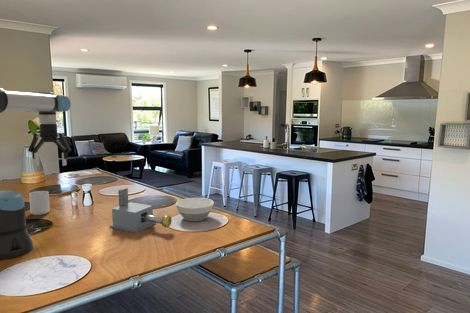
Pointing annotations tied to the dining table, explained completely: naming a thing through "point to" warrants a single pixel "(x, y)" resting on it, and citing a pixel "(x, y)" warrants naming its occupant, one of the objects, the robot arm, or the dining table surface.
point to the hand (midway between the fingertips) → (51, 165)
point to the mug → (39, 202)
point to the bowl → (194, 208)
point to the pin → (157, 219)
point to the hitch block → (131, 217)
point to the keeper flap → (123, 197)
